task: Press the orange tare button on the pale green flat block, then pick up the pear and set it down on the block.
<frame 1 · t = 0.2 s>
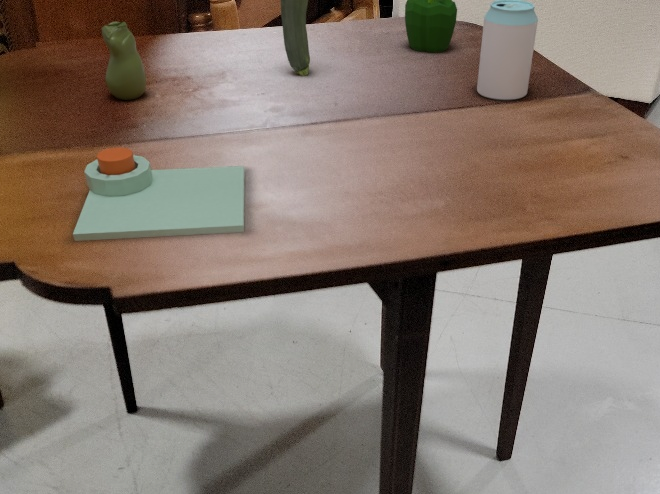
pear: (129, 100, 102), on the table
pale green flat block: (167, 207, 76), on the table
vegetable: (299, 77, 110), on the table
can: (501, 97, 104), on the table
bell pepper: (428, 51, 121), on the table
tare button: (116, 162, 76), point 3 cm above the table, slide at 0.1 cm
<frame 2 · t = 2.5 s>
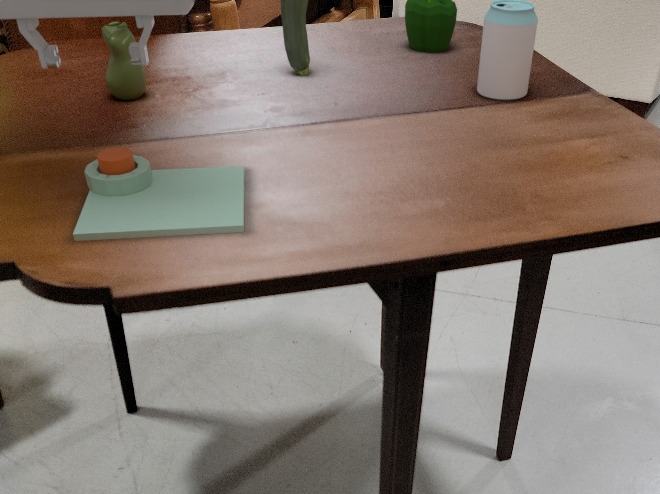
hand: (96, 65, 70), 13 cm above the table, tool pointing down, fingers open, 7 cm apart
nothing on the table moved.
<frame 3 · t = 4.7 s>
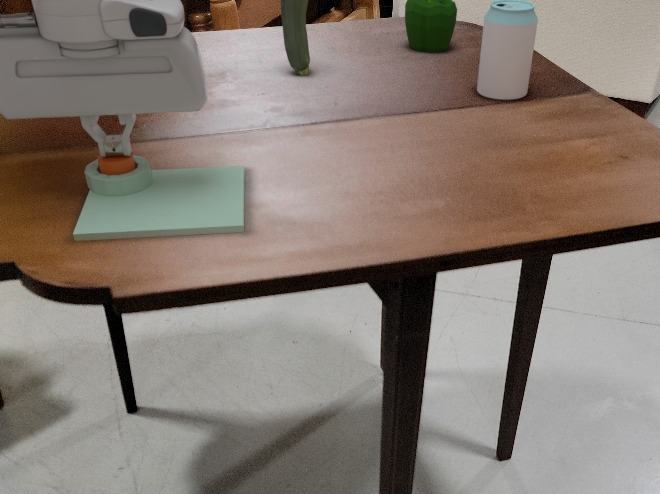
hand: (116, 154, 76), 4 cm above the table, tool pointing down, fingers closed, pressing on tare button
tare button: (116, 163, 76), point 3 cm above the table, slide at 0.0 cm, touching gripper
everything else where it was.
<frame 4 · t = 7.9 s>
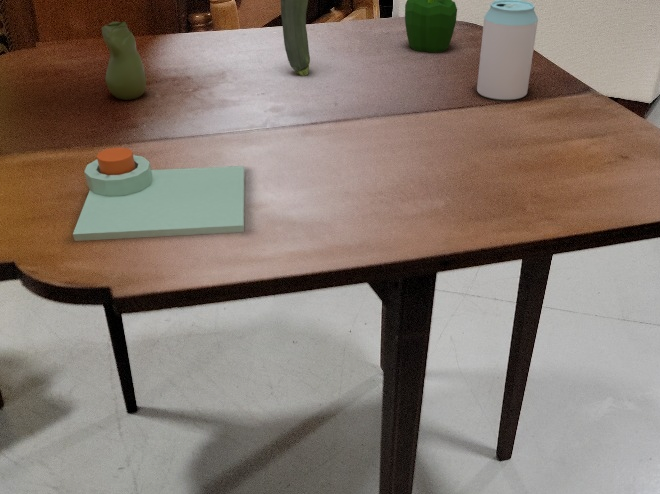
tare button: (116, 162, 76), point 3 cm above the table, slide at 0.1 cm
everything else where it was.
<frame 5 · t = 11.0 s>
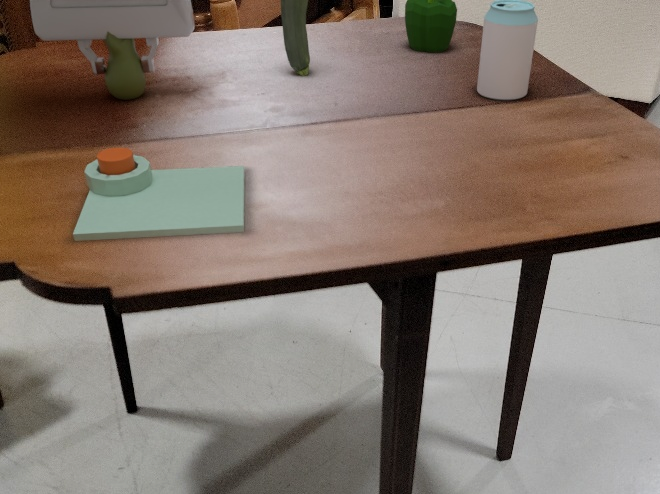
hand: (125, 72, 99), 4 cm above the table, tool pointing down, fingers closed on pear, 5 cm apart
pear: (129, 100, 102), on the table, touching gripper
everything else where it was.
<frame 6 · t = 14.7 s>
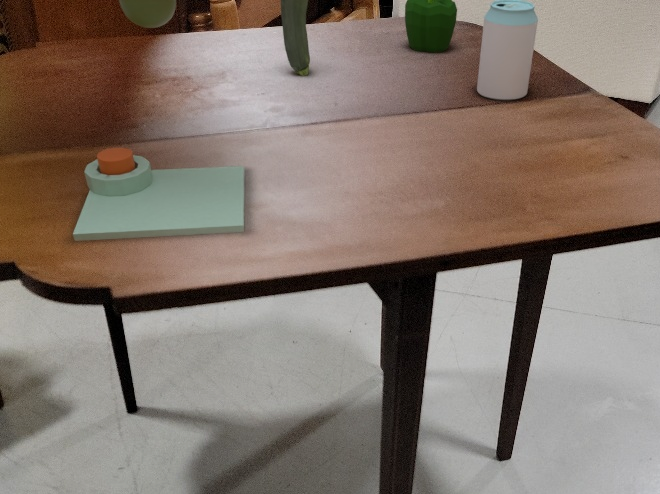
pear: (152, 29, 72), point 16 cm above the table, touching gripper
everything else where it was.
when the fingers open (5 cm above the table, at t = 18.4 s): pear stays where it is, resting on pale green flat block.
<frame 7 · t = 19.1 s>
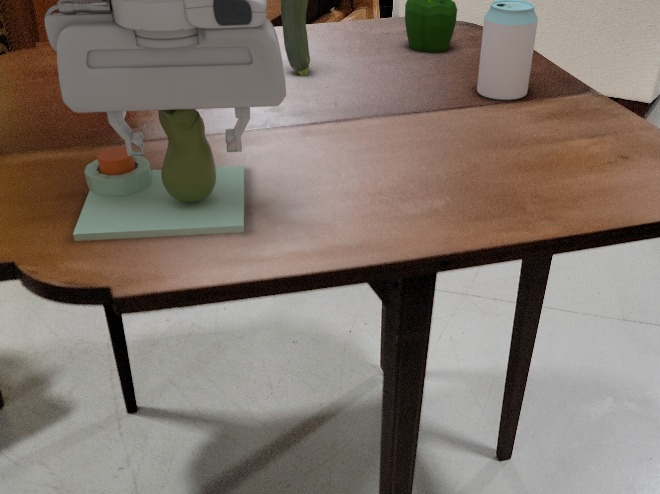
hand: (186, 151, 71), 6 cm above the table, tool pointing down, fingers open, 8 cm apart
pear: (192, 201, 75), point 1 cm above the table, touching pale green flat block
everything else where it was.
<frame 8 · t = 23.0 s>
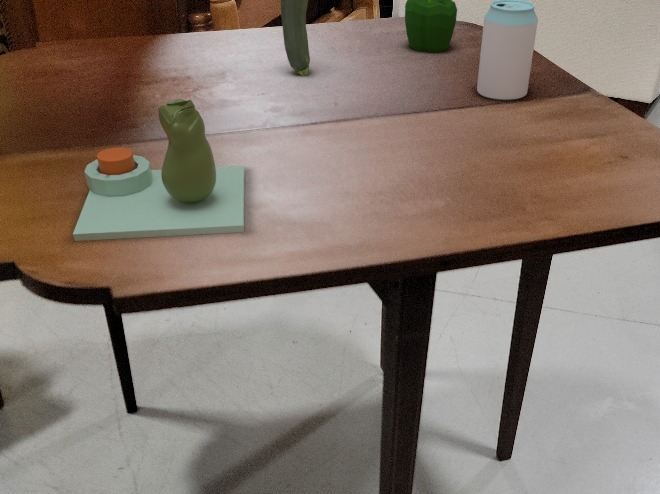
nothing on the table moved.
at the end: tare button pushed in 1.0 cm at the most during the clip, back to where it started at the end; pear inside the target area on the pale green flat block (2.9 cm from its centre), point 1.0 cm above the pale green flat block's base; pear touching pale green flat block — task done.
